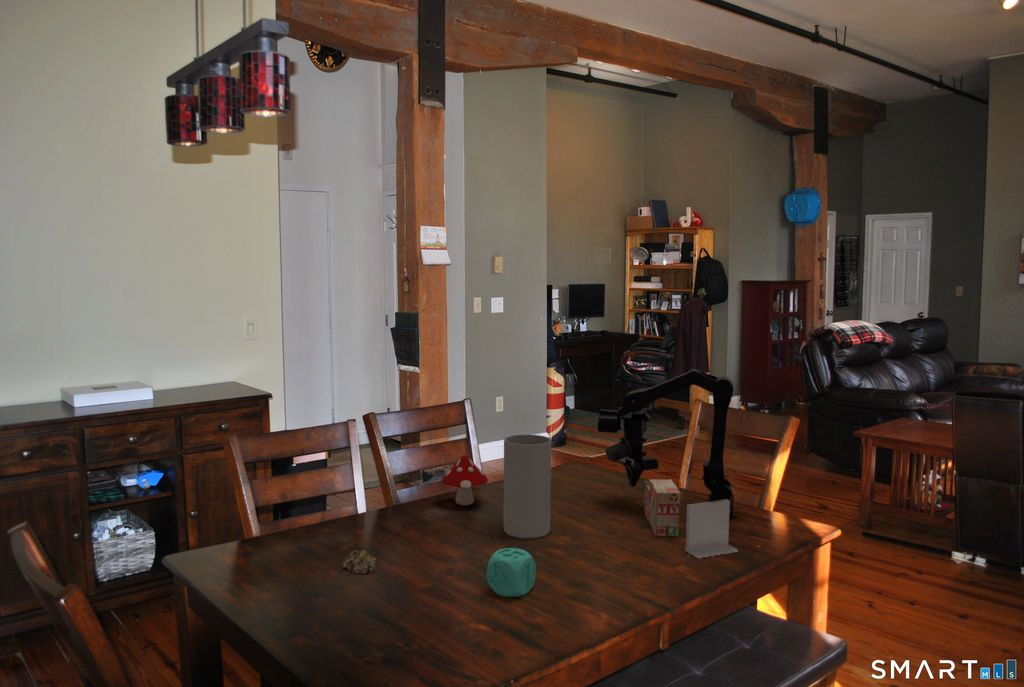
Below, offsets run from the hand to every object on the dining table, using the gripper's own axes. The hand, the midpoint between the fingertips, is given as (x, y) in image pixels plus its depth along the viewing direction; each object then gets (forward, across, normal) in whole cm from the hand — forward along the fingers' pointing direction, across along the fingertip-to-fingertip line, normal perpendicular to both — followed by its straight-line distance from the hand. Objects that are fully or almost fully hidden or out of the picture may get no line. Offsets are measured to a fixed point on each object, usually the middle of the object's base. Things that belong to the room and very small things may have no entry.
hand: (632, 486), depth 224 cm
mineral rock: (+7, +16, -83) cm, 85 cm away
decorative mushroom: (+7, -21, -45) cm, 50 cm away
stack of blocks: (+7, +15, 0) cm, 16 cm away
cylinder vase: (+7, +7, -37) cm, 38 cm away
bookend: (+6, +38, 0) cm, 38 cm away
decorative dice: (+7, +40, -55) cm, 69 cm away
